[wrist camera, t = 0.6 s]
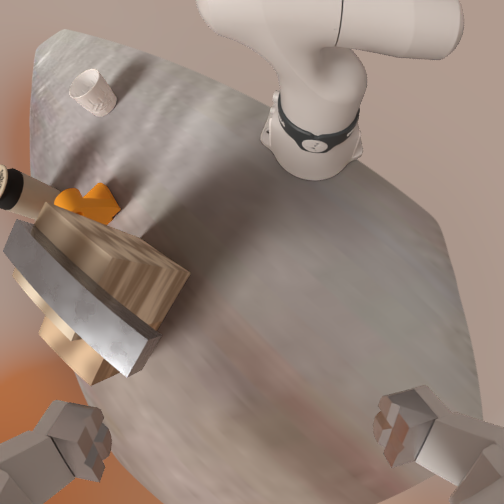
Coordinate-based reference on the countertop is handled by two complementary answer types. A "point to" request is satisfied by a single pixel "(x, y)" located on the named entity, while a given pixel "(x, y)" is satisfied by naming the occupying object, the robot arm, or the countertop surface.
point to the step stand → (104, 282)
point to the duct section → (81, 300)
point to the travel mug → (24, 193)
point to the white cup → (93, 93)
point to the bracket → (90, 203)
